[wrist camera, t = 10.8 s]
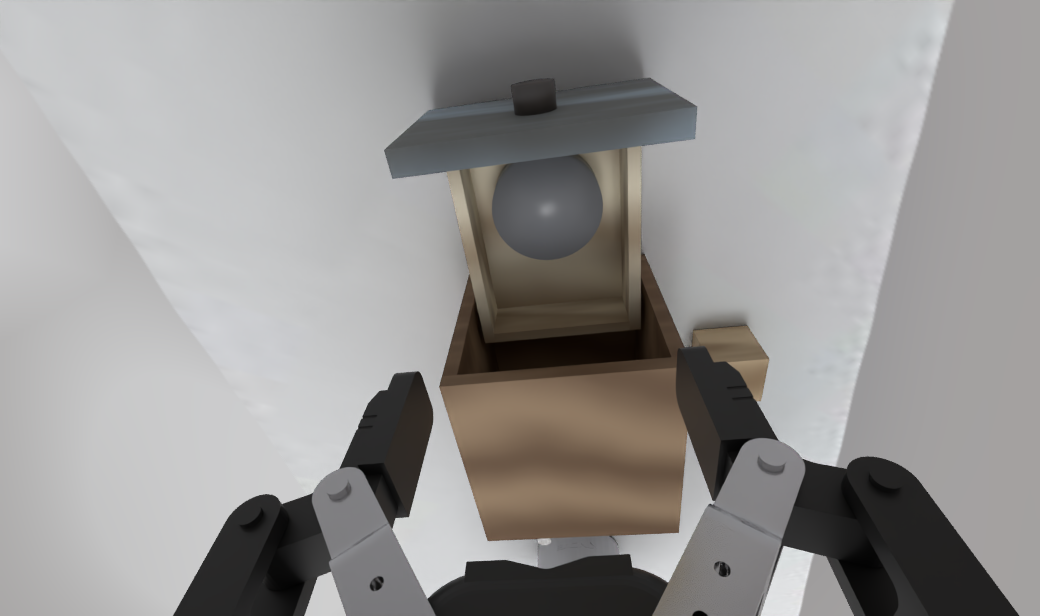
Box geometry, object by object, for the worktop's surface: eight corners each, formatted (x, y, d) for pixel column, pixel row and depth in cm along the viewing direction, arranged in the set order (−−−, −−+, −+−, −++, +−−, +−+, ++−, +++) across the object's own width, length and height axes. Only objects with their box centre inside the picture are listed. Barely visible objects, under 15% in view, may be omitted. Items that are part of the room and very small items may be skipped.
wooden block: (740, 365, 37) (760, 400, 34) (690, 369, 37) (704, 405, 34) (747, 325, 35) (769, 359, 31) (693, 330, 35) (709, 363, 32)
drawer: (646, 295, 33) (679, 381, 25) (475, 312, 34) (456, 398, 26) (649, 53, 24) (699, 71, 17) (423, 87, 26) (375, 119, 18)
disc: (597, 138, 26) (601, 146, 24) (600, 240, 29) (604, 254, 28) (486, 152, 27) (483, 161, 25) (503, 250, 30) (500, 264, 28)
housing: (643, 399, 39) (678, 532, 29) (500, 410, 41) (487, 540, 31) (644, 254, 32) (692, 366, 22) (469, 273, 33) (439, 386, 23)
